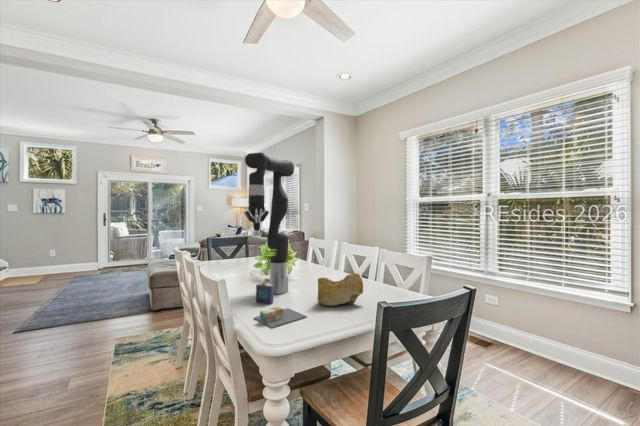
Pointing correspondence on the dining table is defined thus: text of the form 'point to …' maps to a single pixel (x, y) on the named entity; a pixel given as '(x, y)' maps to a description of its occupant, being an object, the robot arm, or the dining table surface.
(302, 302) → the dining table surface
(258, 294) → the flask
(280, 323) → the rubber mat
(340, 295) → the rough brown rock
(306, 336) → the dining table surface
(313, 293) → the dining table surface
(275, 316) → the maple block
